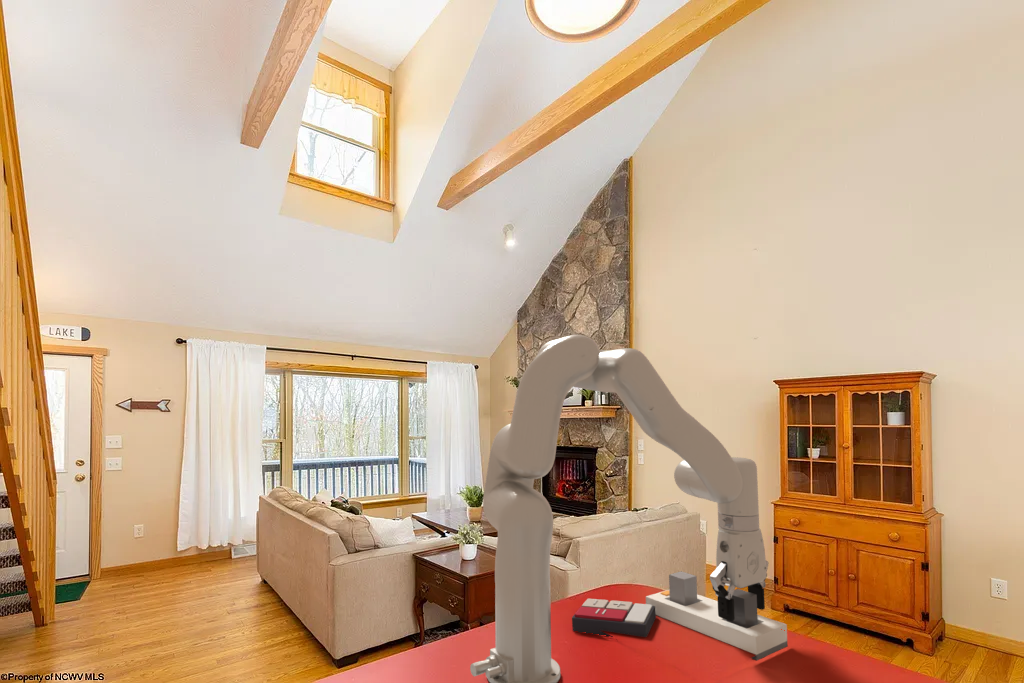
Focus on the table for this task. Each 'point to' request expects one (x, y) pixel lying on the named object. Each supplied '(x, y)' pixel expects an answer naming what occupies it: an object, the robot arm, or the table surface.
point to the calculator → (614, 617)
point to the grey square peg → (683, 588)
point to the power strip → (722, 624)
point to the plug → (745, 608)
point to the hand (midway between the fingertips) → (741, 613)
